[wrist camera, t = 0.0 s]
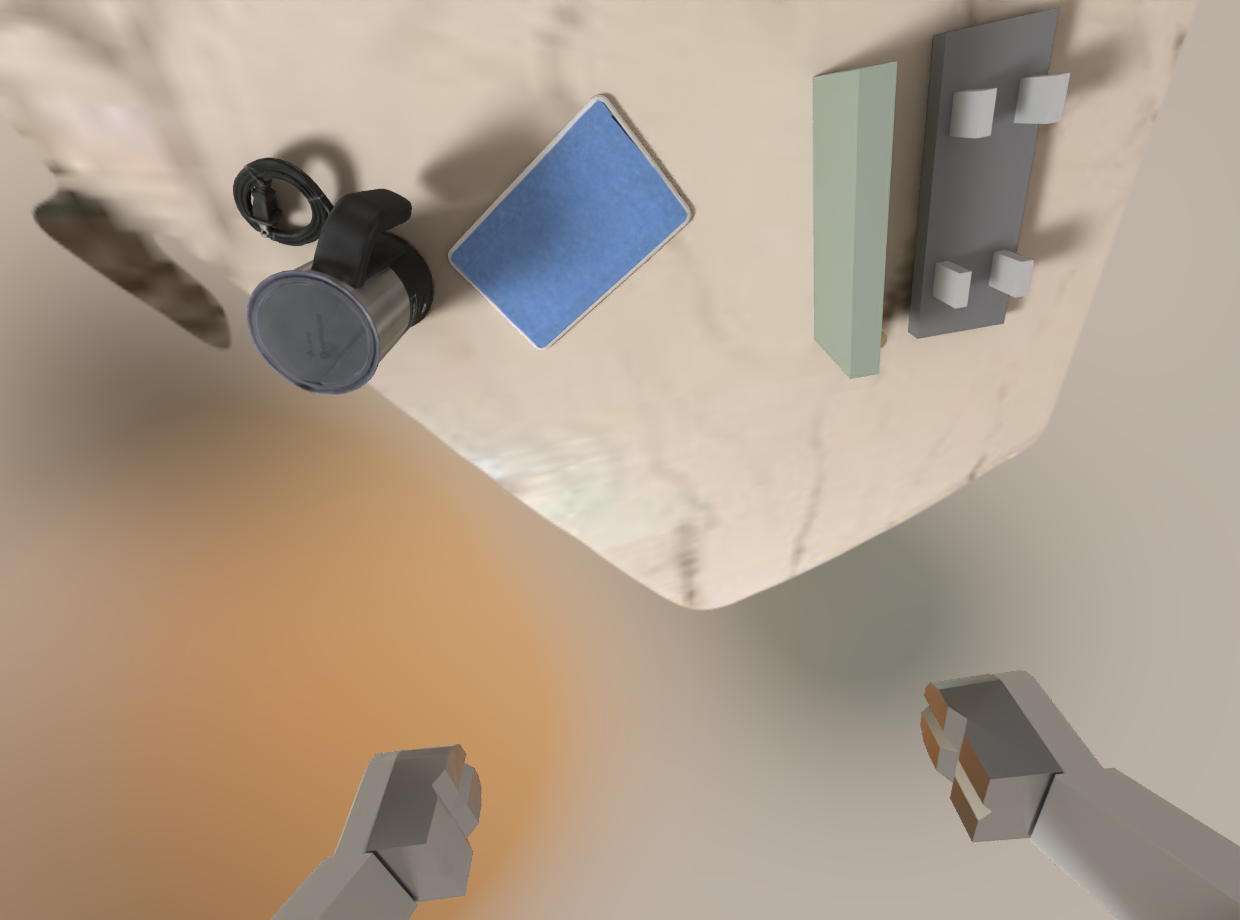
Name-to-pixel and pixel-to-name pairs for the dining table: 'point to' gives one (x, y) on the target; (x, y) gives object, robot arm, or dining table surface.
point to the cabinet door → (852, 211)
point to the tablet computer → (571, 226)
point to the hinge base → (980, 169)
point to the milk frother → (333, 282)
